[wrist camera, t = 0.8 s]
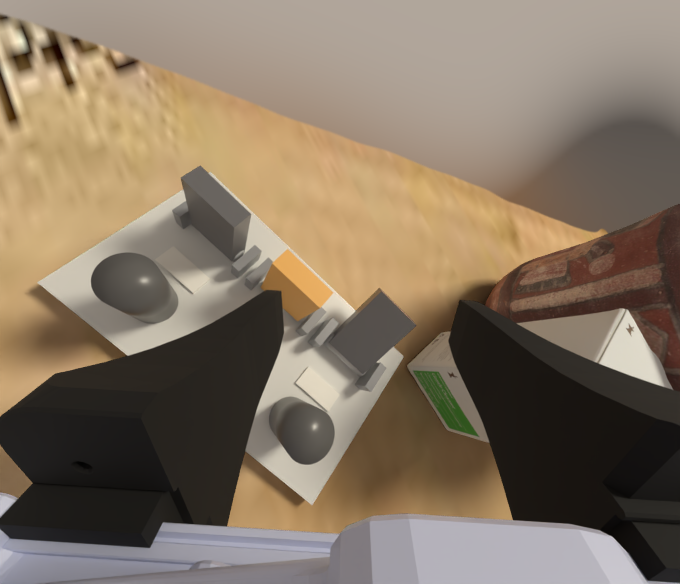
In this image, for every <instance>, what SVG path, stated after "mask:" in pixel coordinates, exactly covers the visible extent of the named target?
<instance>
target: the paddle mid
mask: <svg viewBox="0 0 680 584" xmlns="http://www.w3.org/2000/svg"><path fill="white" fill-rule="evenodd" d="M261 289H262V290H264V291H265V290H278V291H281V292H282V307H283V309H284V310H285V311H286V312H288V313H289V314H290V315H291V316H292V317H293V318H294V319H295V320H296V321H300V320H301V319H302V318H304V317H306V316H308V315H309V314H311V313H313V312H315V311H316V310H318V309H320V308H321V307H322V306H323V304H324V303H325V302H326V301H327V300H328V299H329V298H330V296H331V295H332V294H333V292H332V291H331V290H330V289H329V288H328V287H327V286H326V285H325V284H324V283H323V282H322V281H321V280H320V279H319V278H318V277H317V276H316V275H315V274H314V273H313V272H311V271H310V270H309V269H308V268H307V267H306V266H305V265H304V264H303V263H302V262H301V261H300V260H299V259H298V258H297V257H296V256H295V255H294V254H293V253H292V252H290V251H289V250H288V249H287V250H286V251H285V252H284V253H283V254H281V255H280V256H279V257H278V258H277V259H276V260H275V261H274V262H273V263H272V265H271V267H270V269H269V271H268V273H267V275H266V277H265V279H264V282H263V283H262V285H261Z"/></svg>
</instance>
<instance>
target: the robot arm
mask: <svg viewBox="0 0 680 584" xmlns="http://www.w3.org/2000/svg"><path fill="white" fill-rule="evenodd" d="M283 335H284V322H283V307H282V292H281V291H278V290H265V291H263V292H262V293H260V294H258V295H257V296H255V297H254V298H252V299H251V300H249V301H248V302H246V303H244V304H243V305H241V306H240V307H238V308H237V309H235V310H233V311H232V312H230V313H228V314H227V315H225V316H223V317H221V318H220V319H218V320H216V321H214V322H212V323H211V324H209V325H207V326H205V327H203V328H201V329H198V330H196V331H194V332H192V333H190V334H188V335H185V336H183V337H180V338H178V339H175V340H172V341H170V342H167V343H165V344H162V345H159V346H157V347H154V348H151V349H148V350H145V351H142V352H139V353H136V354H132V355H129V356H125V357H122V358H119V359H115V360H111V361H108V362H104V363H100V364H95V365H91V366H87V367H83V368H78V369H74V370H70V371H66V372H61V373H56V374H54V375H53V376H52V377H50V378H49V379H48V380H46V381H45V382H44V383H43V384H41V385H40V386H39V387H38V388H36V389H35V390H34V391H32V392H31V393H30V394H29V395H27V396H26V397H25V398H24V399H22V400H21V401H20V402H18V403H17V404H16V405H15V406H13V407H12V408H11V409H9V410H8V411H7V412H6V413H4V414H3V415H2V416H1V417H0V444H1V446H2V447H3V449H4V450H5V452H6V453H7V454H8V455H9V456H10V457H11V459H12V460H13V461H14V462H15V463H16V464H17V465H18V467H19V468H20V469H21V470H22V471H23V472H24V473H25V475H26V476H27V477H28V478H29V479H30V480H31V481H32V483H33V484H32V485H31V486H30V487H29V488H28V489H27V490H26V491H25V492H24V493H23V494H22V495H21V496H20V498H19V499H18V498H17V497H14V496H12V495H9V494H6V493H1V492H0V584H680V392H678V391H675V390H672V389H669V388H666V387H663V386H660V385H657V384H653V383H650V382H648V381H645V380H642V379H639V378H636V377H633V376H630V375H628V374H625V373H622V372H620V371H617V370H614V369H612V368H609V367H606V366H604V365H601V364H599V363H596V362H594V361H591V360H589V359H587V358H584V357H582V356H580V355H578V354H575V353H573V352H571V351H569V350H567V349H564V348H562V347H560V346H558V345H556V344H554V343H552V342H550V341H548V340H546V339H544V338H542V337H540V336H538V335H537V334H535V333H533V332H531V331H529V330H527V329H525V328H524V327H522V326H520V325H518V324H517V323H515V322H513V321H511V320H510V319H508V318H506V317H504V316H503V315H501V314H499V313H498V312H496V311H494V310H492V309H490V308H489V307H487V306H485V305H483V304H481V303H479V302H476V301H466V300H460V301H459V305H458V308H457V312H456V315H455V319H454V322H453V326H452V329H451V333H450V336H449V340H448V342H449V346H450V349H451V353H452V356H453V359H454V362H455V365H456V367H457V369H458V371H459V373H460V375H461V378H462V380H463V382H464V384H465V386H466V388H467V390H468V392H469V394H470V396H471V398H472V401H473V403H474V405H475V407H476V409H477V411H478V413H479V416H480V418H481V420H482V423H483V425H484V428H485V431H486V434H487V437H488V440H489V442H490V445H491V448H492V451H493V454H494V457H495V461H496V464H497V467H498V470H499V473H500V476H501V479H502V483H503V486H504V490H505V493H506V497H507V500H508V504H509V507H510V511H511V514H512V518H513V520H500V519H484V518H469V517H453V516H437V515H421V514H392V515H378V516H371V517H368V518H366V519H363V520H361V521H358V522H356V523H353V524H350V525H348V526H346V528H345V529H344V530H343V531H342V532H341V533H340V534H335V533H319V532H304V531H288V530H273V529H257V528H242V527H227V524H228V519H229V515H230V511H231V506H232V502H233V497H234V493H235V489H236V485H237V481H238V477H239V473H240V469H241V465H242V461H243V457H244V454H245V450H246V446H247V442H248V439H249V435H250V431H251V428H252V424H253V421H254V417H255V414H256V410H257V407H258V405H259V402H260V399H261V396H262V394H263V391H264V389H265V387H266V384H267V382H268V379H269V377H270V374H271V372H272V369H273V367H274V364H275V362H276V359H277V357H278V354H279V351H280V347H281V343H282V339H283Z"/></svg>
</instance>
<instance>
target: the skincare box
mask: <svg viewBox="0 0 680 584" xmlns="http://www.w3.org/2000/svg"><path fill="white" fill-rule="evenodd" d="M517 324H518V325H520V326H522V327H524V328H525V329H527V330H529V331H531V332H533V333H535V334H537V335H538V336H540V337H542V338H544V339H546V340H548V341H550V342H552V343H554V344H556V345H558V346H560V347H562V348H564V349H567V350H569V351H571V352H573V353H575V354H578V355H580V356H582V357H584V358H587V359H589V360H591V361H594V362H596V363H599V364H601V365H604V366H606V367H609V368H612V369H614V370H617V371H620V372H622V373H625V374H628V375H630V376H633V377H636V378H639V379H642V380H645V381H648V382H650V383H653V384H657V385H660V386H663V387H666V388H669V389H672V390H673V388H672V386H671V384H670V383H669V381H668V379H667V376H666V374H665V371H664V368H663V366H662V364H661V362H660V360H659V358H658V357H657V356H656V354H655V353H654V352H653V351H652V350H651V349H650V348H649V346H648V344H647V342H646V341H645V339H644V337H643V335H642V333H641V332H640V330H639V328H638V327H637V325H636V323H635V321H634V319H633V318H632V316H631V314H630V313H629V311H628V310H626V309H623V308H620V309H616V310H611V311H606V312H600V313H593V314H586V315H579V316H571V317H562V318H555V319H547V320H539V321H531V322H523V323H517ZM450 333H451V331H449V332H442V333H440V334H439V335H438V336H437V337H436V338H435V339H434V340H433V341H432V342H431V343H430V344H429V345H428V346H427V347H425V348H424V349H423V350H422V351H421V352H420V353H419V354H418V355H417V356H416V357H415V358H414V359H413V360H412V361H411V362H410V363H409V364H408V365H407V368H408V370H409V371H410V373H411V374H412V376H413V377H414V379H415V380H416V382H417V384H418V386H419V387H420V389H421V390H422V392H423V393H424V395H425V396H426V398H427V400H428V401H429V403H430V404H431V406H432V407H433V409H434V410H435V412H436V414H437V415H438V417H439V418H440V420H441V422H442V423H443V425H444V427H445V428H446V429H447V430H448V431H451V432H454V433H457V434H461V435H464V436H467V437H471V438H474V439H478V440H481V441H484V442H488V443H490V442H489V440H488V437H487V434H486V431H485V428H484V425H483V423H482V420H481V418H480V416H479V413H478V411H477V409H476V407H475V405H474V403H473V401H472V398H471V396H470V394H469V392H468V390H467V388H466V386H465V384H464V382H463V380H462V378H461V375H460V373H459V371H458V369H457V367H456V365H455V362H454V359H453V356H452V353H451V349H450V346H449V342H448V340H449V336H450Z"/></svg>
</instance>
